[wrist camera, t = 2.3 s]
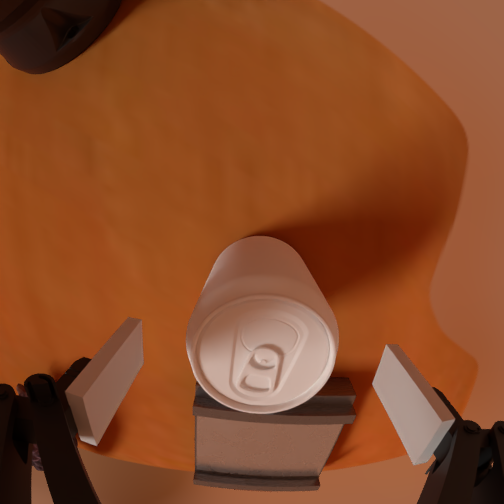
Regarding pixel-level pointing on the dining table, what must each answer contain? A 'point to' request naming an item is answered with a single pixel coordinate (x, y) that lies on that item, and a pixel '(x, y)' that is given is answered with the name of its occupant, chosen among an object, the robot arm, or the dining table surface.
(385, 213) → the dining table surface
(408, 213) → the dining table surface
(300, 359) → the beverage can
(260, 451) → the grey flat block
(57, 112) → the dining table surface
